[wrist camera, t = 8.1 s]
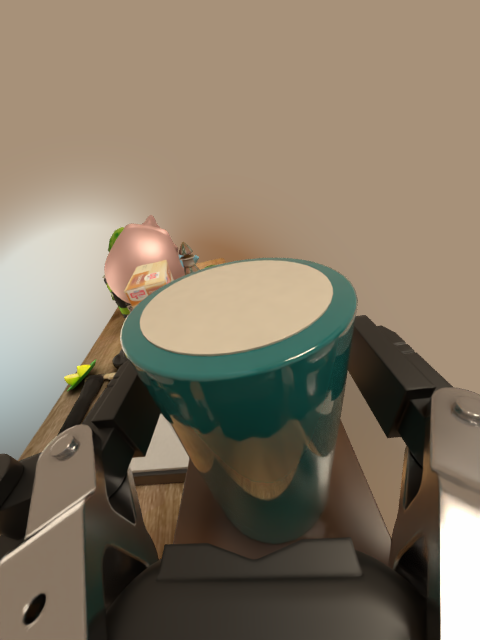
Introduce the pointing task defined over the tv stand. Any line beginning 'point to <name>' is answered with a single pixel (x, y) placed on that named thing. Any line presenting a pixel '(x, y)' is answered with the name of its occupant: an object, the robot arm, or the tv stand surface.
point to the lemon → (79, 375)
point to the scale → (161, 458)
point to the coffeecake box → (147, 281)
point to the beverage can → (120, 302)
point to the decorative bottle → (187, 259)
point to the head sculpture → (139, 254)
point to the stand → (335, 522)
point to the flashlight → (83, 402)
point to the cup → (251, 383)
